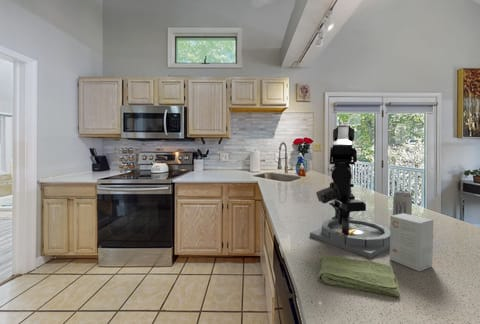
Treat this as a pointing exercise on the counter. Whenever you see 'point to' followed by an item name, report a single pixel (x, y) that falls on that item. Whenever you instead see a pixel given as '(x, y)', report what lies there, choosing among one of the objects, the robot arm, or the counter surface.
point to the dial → (355, 229)
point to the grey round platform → (355, 238)
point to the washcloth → (358, 275)
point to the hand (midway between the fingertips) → (341, 224)
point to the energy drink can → (402, 203)
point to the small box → (411, 241)
